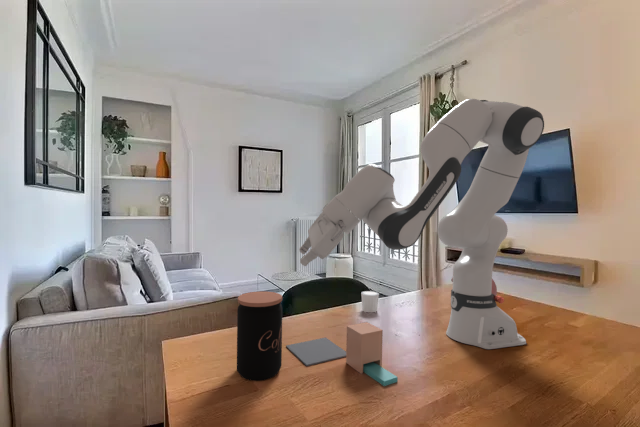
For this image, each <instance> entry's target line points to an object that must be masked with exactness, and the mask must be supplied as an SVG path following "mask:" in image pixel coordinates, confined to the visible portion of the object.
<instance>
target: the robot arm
mask: <svg viewBox="0 0 640 427" xmlns="http://www.w3.org/2000/svg"><path fill="white" fill-rule="evenodd" d="M544 129H545V119H544V115H543V114H542V113H541V112H540V111H538V110H537V109H534V108H532V107H530V106H522V105H520V104H516V103H512V102H506V101H493V100H491V101H489V100H486V99H481V100H480V99H477V98H468V99H464V100H463V101H461V102H460V103H458V104H457V105H455V106H454V107H453V108H452V109H450V110H449V111H448V112H447V113H446V114H444V115H443V116H442V117H441V118H440V119H439V120H438V121H437V122H436V123H435V125H433V126H432V127H431V129H429V131H428V132H427V133H426V134H425V136H424V137H423V138H422V141H421V143H420V154H421V158H422V160H423V162H424V163H425V165H426V167H427V168H428V171H429V172H428V173H429V174H428V177H427V179H426V181H425V182H424V184H423V185H422V186H421V188H419V191H418V192H417V193H416V195H415V196H414V197H413V199H412V200H411V202H409V203H408V204H407V205H405V206H404V205H402V204H400V202H398V201H397V199H396V196H395V192H394V184H395V178H394V176H393V175H392V173H390V172H389V171H387V170H386V169H384V168H382V167H381V166H379V165H377V164H375V163H369V164H367V165H365V166H364V167H362V168H361V169H360V170H359V171H357V173H355V174H354V175H353V177H352V178H351V179H350V180H348V182H346V184H345V186H344V188H343V189H342V190H341V191H340V192H339V193H337V194H336V195H335V196H334V197H333V198H332V199H330V201H329V202H328V203H327V204H326V205H325V206H324V207H322V209H321V213H320V214H319V216H317V218H316V219H315V220H314V222H313V223H312V224H311V225H310V227H309V229H308V237H307V238H306V239H305V241H304V242H303V244H302V245H301V246H300V247H299V252H300V253H301V254H302V255H303V256H302V257H301V258H300V260H299V261H300V263H299V264H301V265H302V266H303V267H307V266H308V265H309V264H310V262H312V261H314V260H316V259H317V258H320V259H321V260H324V259H325V258H327V257H328V256H329V255H330V254H331V253H332V252H333V250H334V249H335V248H336V247H337V246H338V245H339V244H340V242H341V241H342V240H343V238H344V236H345V235H344V233H345V234H346V235H349V234H350V233H351V232H352V231H353V230H354V229H355V228H356V227H357V225H359V223H361V221H363V222H364V224H365V225H366V226H368V227H369V229H370V230H371V231H372V232H374V234H375V235H377V236H378V238H379V239H380V240H381V241H382V243H384V245H385V246H386V247H387V248H388V249H390V250H392V251H393V250H394V251H397V250H398V251H399V250H400V251H401V250H405V249H408V248H410V247H412V246H413V245H414V244H416V242H418V240H419V239H420V237H421V235H422V233H423V231H424V230H425V228H426V225H427V223H428V222H429V220H430V219H431V217H433V215H434V214H435V213H436V211H437V209H438V208H439V207H440V205H441V204H442V203H443V202H444V200H445V198H446V197H447V196H448V195H449V193H450V191H451V190H452V189H453V187H455V185H456V183H457V182H458V180H459V177H461V176H460V175H461V172H462V163H463V161H464V160H465V158H466V157H467V155H469V153H470V152H471V151H472V150H473V149H474V148H475V147H476V145H477V144H478V143H479V142H481V143H483V144H486V145H488V148H487V150H486V151H485V152H484V155H483V157H482V159H481V161H480V163H479V166H478V168H477V170H476V172H475V175H474V177H473V180H472V182H471V184H470V187H469V189H468V190H467V192H466V194H465V195H464V196H463V197H462V199H461V200H460V201H459V202H458V204H457V205H456V206H455V207H454V209H452V211H450V212H449V213H448V214H447V215H445V216H443V217H442V218H441V219H440V221H439V222H438V225H437V236H438V238H439V240H440V241H441V243H443V245H445V246H448V247H451V248H454V249H460V250H462V251H461V254H460V255H459V258H458V259H457V260H456V261H455V262H454V264H453V267H452V277H453V282H452V289H451V290H450V308H451V309H450V310H451V311H450V316H449V321H448V322H449V323H448V326H447V329H446V332H445V334H446V335H447V337H448V338H450V339H452V340H454V341H457V342H459V343H462V344H466V345H471V346H475V347H479V348H482V349H485V350H494V349H502V348H508V347H517V346H523V345H527V340H526V338H525V337H524V336H523V335H521V334H520V333H518V328H517V324H516V322H515V320H514V319H513V318H512V317H511V316H510V315H509V314H508V313H507V312H505V311H504V310H503V309H501V308H500V307H499V306H497V305H498V304H497V303H499V304H503V303H504V302H505V298H504V296H501V295H499V294H498V295H496V296H495V295H494V294H492V293H491V290H492V279H493V270H494V263H495V260H496V256H497V253H498V250H499V248H500V246H501V244H502V242H504V240H505V239H506V237H507V235H508V225H507V223H506V221H505V220H504V219H503V218H502V217H500V216H498V215H496V213H497V212H498V211H499V210H501V208H503V207H504V206H505V205H507V204H508V203H509V200H510V199H511V196H512V195H513V192H514V191H515V189H516V187H517V183H518V181H519V180H520V178H521V176H522V172H523V171H524V167H525V165H526V162H527V159H528V156H529V150H530V149H531V148H532V147H533V146H534V145H535V144H536V143H537V142H538V141H539V140H540V138H541V137H542V135H543V133H544Z"/></svg>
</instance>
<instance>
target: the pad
mask: <svg viewBox="0 0 640 427" xmlns="http://www.w3.org/2000/svg"><path fill="white" fill-rule="evenodd" d="M285 346H286V347H285V348H286V349H288V350H289V351H290V352H291V353H292V354H293V355H294V356H295V357H296V358H297V359H298V360H299V361H300V362H301V363H302V364H304V366H306V367H309V366H313V365H317V364H322V363H325V362H330V361H334V360H339V359H343V358H346V350H344V348H342V347H340V346H338V345H337V344H336V343H334V342H333V341H331V339H329V338H327V337H322V338H317V339H316V338H315V339H312V340H306V341H301V342H295V343H293V344H292V343H291V344H287V345H285Z"/></svg>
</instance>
